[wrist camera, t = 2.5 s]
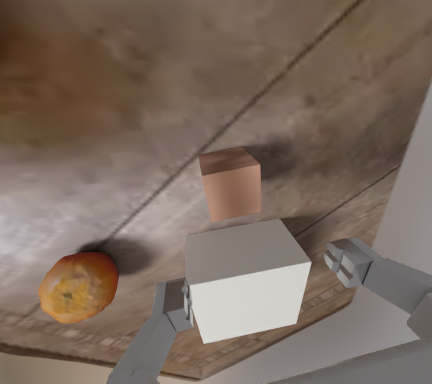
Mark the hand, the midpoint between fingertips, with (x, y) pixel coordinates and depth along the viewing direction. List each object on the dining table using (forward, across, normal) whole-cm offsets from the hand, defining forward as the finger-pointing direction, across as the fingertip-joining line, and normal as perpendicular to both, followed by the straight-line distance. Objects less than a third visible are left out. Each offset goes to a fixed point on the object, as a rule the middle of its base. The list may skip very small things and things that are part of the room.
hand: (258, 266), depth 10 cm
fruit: (+14, +20, +9) cm, 26 cm away
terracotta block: (+13, 0, -1) cm, 13 cm away
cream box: (+14, 0, +15) cm, 20 cm away
